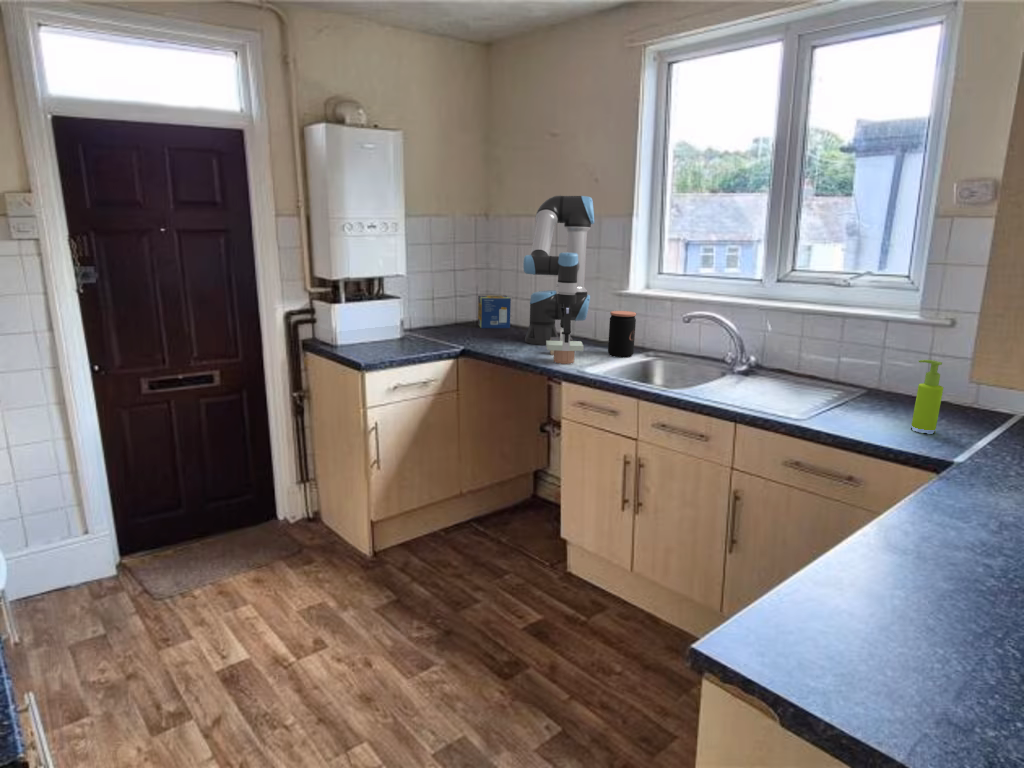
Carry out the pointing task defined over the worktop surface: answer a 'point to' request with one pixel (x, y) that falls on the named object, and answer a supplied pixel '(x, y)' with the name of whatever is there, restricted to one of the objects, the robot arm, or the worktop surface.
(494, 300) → the protein box
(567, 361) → the terracotta faceted pot
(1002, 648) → the worktop surface
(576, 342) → the lid
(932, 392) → the soap dispenser
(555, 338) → the riser
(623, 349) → the coffee jar
